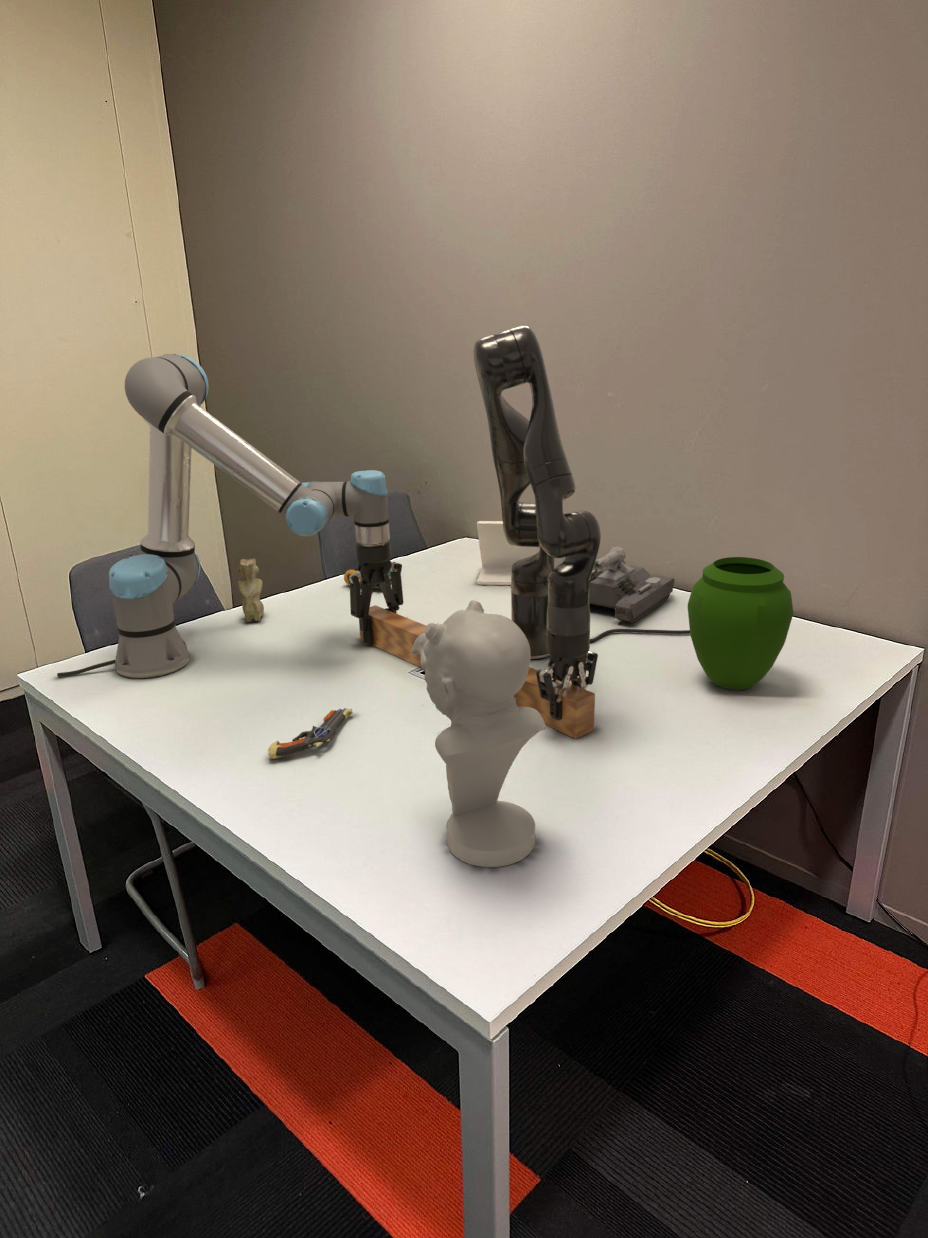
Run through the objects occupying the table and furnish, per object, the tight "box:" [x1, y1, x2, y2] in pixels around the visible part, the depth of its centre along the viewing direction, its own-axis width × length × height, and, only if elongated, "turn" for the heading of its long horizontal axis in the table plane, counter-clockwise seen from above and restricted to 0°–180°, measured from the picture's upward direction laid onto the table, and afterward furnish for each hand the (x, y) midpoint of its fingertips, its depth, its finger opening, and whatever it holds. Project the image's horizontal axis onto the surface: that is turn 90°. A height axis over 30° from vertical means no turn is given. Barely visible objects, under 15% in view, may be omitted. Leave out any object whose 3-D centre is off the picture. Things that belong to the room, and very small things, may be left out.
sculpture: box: [237, 558, 265, 623], centre depth 209 cm, size 6×7×15 cm
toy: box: [589, 546, 676, 624], centre depth 212 cm, size 25×20×15 cm
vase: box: [687, 556, 794, 691], centre depth 166 cm, size 20×20×24 cm
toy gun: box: [267, 707, 354, 760], centre depth 153 cm, size 3×19×10 cm
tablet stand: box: [476, 520, 565, 586], centre depth 236 cm, size 18×25×17 cm
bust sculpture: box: [411, 599, 547, 868], centre depth 121 cm, size 16×24×35 cm
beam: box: [358, 604, 596, 740], centre depth 174 cm, size 66×5×7 cm, turn 41°
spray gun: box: [343, 568, 391, 589], centre depth 236 cm, size 4×17×15 cm
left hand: (379, 639), depth 196 cm, fingers open, 6 cm apart
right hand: (566, 713), depth 154 cm, fingers closed on beam, 5 cm apart
